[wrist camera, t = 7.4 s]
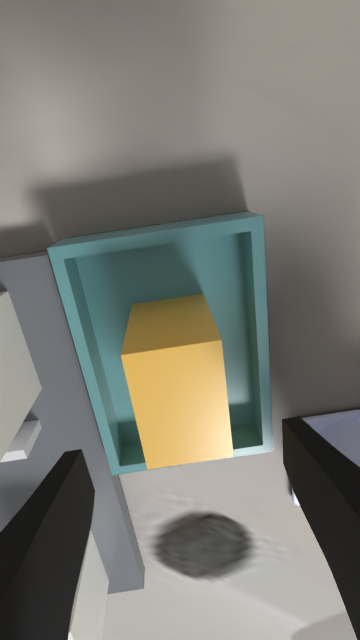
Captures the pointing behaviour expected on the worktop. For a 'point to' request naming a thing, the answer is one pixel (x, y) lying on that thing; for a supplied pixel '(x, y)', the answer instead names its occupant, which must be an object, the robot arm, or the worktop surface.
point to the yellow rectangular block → (177, 382)
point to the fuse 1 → (14, 375)
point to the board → (62, 421)
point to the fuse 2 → (89, 596)
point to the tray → (165, 283)
